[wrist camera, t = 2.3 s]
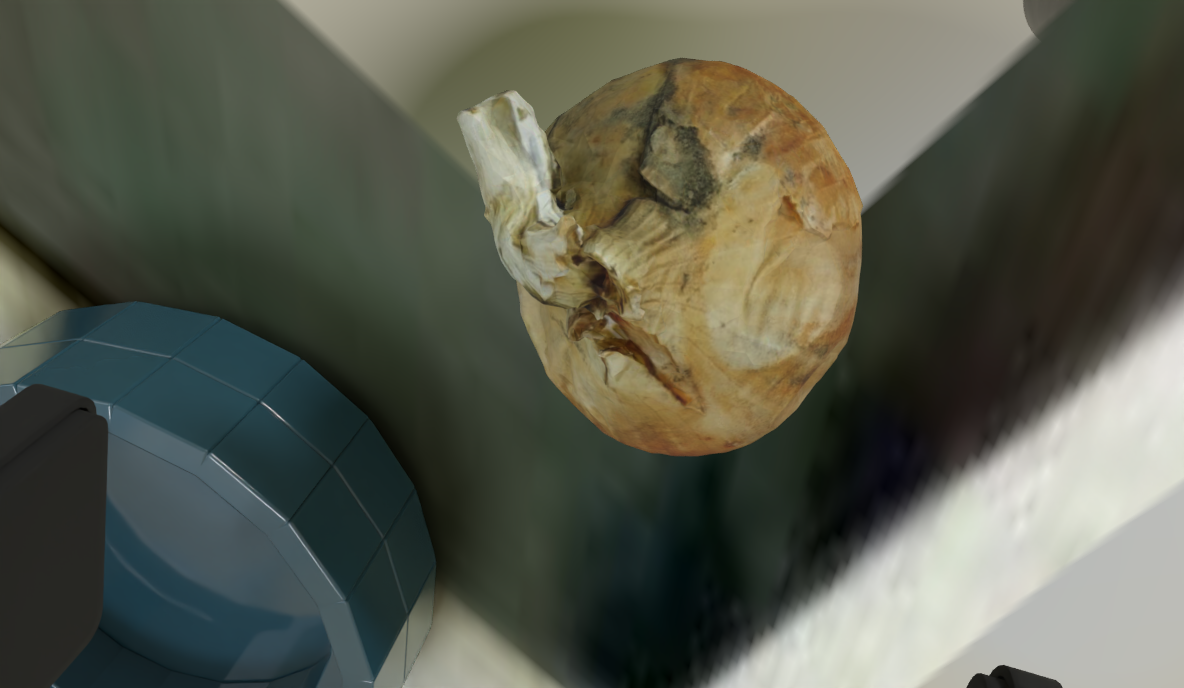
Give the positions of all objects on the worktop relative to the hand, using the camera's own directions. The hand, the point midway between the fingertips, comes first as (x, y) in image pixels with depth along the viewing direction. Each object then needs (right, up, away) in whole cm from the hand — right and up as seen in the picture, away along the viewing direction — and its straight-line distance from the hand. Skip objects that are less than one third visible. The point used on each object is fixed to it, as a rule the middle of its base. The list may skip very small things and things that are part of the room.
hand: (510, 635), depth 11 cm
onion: (+3, +6, +14) cm, 15 cm away
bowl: (-11, -2, +20) cm, 23 cm away
